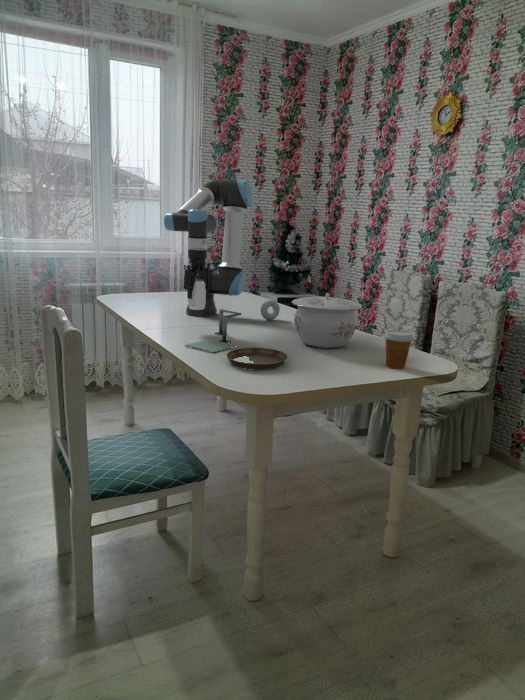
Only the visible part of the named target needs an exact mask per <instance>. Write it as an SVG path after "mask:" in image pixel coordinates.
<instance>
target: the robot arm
mask: <svg viewBox="0 0 525 700" xmlns="http://www.w3.org/2000/svg"><path fill="white" fill-rule="evenodd" d="M252 203H253V192H252V187H251V185H250V183H249V181H247V180H242V179H241V180H240V179H219V178H218V179H214V180H211V181H208V182H206V183H203V184H202V185H200V187H198V188H196V190H195V193H194V195H193V196H192V197H191V198H189V200H188V201H186V202H185V203H184V204H183V205H182V206H181V207H180V208H179V209H178V210H177V211H176V212H167V213H165V215H164V218H163V226H164V228H165V230H166V231H170V232H182V233H183V232H185V233H187V235H188V239H187V247H188V248H189V249H188V251H187V254H188V255H187V257H188V259H189V262H188V263H187V264H184V265H183V269H184V274H183V275H184V276H183V290H185V291H187V294H186V295H187V306H186V308H185V314H186V315H187V316H192V317H213V316H214V315H215V316H217V314H218V309H217V306H216V302H215V298H214V297H215V295H221V296H222V295H223V296H229V297H232V296H239V295H241V294H242V292H243V291H244V288H245V285H246V280H247V279H246V278H247V277H246V273H245V272H244V271H243V267H242V266H241V264H240V260H241V250H242V238H243V225H244V214H245V213H246V212H248V207H251V206H252ZM214 205H216V206H217V205H219V206H222V209H223V211H224V212H225V214H224V215H225V216H224V229H223V241H222V243H223V244H222V253H221V254H222V255H221V263H219V265H218V266H217V269H216V268H215V266H211V263H210V262H206V260H207V258H208V253H207V252H208V251H207V248H208V234H212V233H214V232H215V231H217V230H218V228H219V219H218V217H217V216H215V215H214V214H209V213H208V211H207V210H206V208H210V207H211V206H214ZM195 279H202V280H204V283H205V308H204V309H203V310H191V309H190V308H189V306H190V307H194V291H193V287H194V283H195ZM190 287H191V288H190ZM215 316H214V317H215Z"/></svg>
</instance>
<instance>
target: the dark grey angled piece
mask: <svg viewBox="0 0 525 700" xmlns="http://www.w3.org/2000/svg"><path fill="white" fill-rule="evenodd" d="M224 313H226V314H227V313H228V314H229V315H224ZM218 314H219V316H218V332H214V335H215V334H218V335H217V336H220V335H222V336H221V337H222V339H220V340H218V341H220V342H225V343H228V342H230V343H232V340H229V339H227V337H228V332H227V331H228V329H227V328H228V319H229V318H234V317H238V316H242V312H237V311H233V310H232V311H231V310H225V309H222V308H221V309H219V313H218Z"/></svg>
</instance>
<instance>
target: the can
mask: <svg viewBox="0 0 525 700" xmlns="http://www.w3.org/2000/svg"><path fill="white" fill-rule="evenodd" d="M190 288H191V287H190ZM193 291H194V307H190V306H189V308H190V309H191V310H203V309H204V308H205V283H204V280H202V279H195V283H194V287H193Z"/></svg>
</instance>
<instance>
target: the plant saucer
mask: <svg viewBox="0 0 525 700" xmlns="http://www.w3.org/2000/svg"><path fill="white" fill-rule="evenodd" d="M225 356H226V358H227V360H228V361H229V362H230V363H231V364H232V365H233V366H234V365H235V366H234V367H236V366H238V367H237V368H239V367H241V368H240V369H242V368H246V369H245V370H248V369H253V370H252V371H271V370H276V369H278V368H280V367H281V366H282V365H283V364H285V362H286V361H287V359H288V354H286V353H285V352H283V351H282V350H281V351H280V350H278V349H277V350H276V349H272V348H267V347H266V348H265V347H244V348H243V347H242V348H236V349H232V350H230V351H228V352H227V353H226V355H225ZM243 356H247V357H249V360H250V361H253V362H254V363H253V364H252V363H244V362H238V361H235V360H233V359H235V358H238V357H243ZM270 369H271V370H270Z"/></svg>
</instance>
